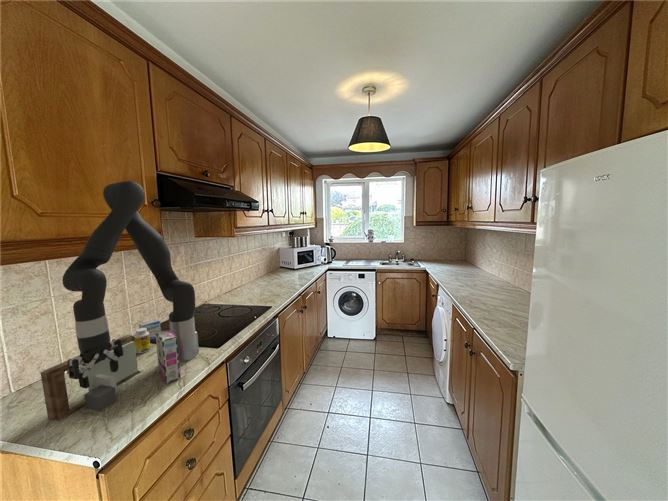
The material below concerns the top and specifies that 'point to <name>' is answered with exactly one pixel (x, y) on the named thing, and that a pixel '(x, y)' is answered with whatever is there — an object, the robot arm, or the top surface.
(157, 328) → the medicine box
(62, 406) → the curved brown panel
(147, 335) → the supplement bottle
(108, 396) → the block
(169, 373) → the candy bar box
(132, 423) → the top surface
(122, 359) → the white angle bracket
